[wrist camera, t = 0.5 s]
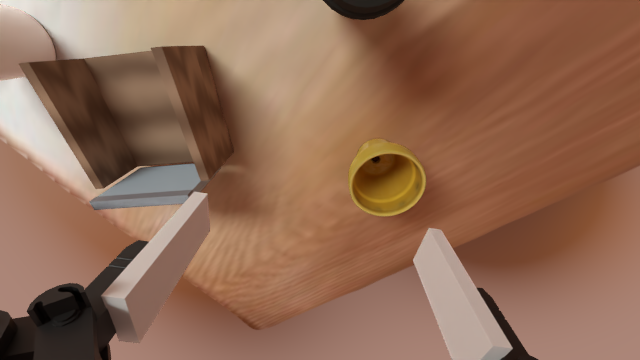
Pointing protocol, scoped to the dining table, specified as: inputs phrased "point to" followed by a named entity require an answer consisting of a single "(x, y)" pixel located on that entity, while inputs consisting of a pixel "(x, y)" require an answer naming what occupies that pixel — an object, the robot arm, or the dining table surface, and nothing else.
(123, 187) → the pale grey panel
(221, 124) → the small wooden shelf
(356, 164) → the plant pot
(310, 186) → the dining table surface
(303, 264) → the dining table surface
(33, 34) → the candle holder
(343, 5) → the coffee cup
